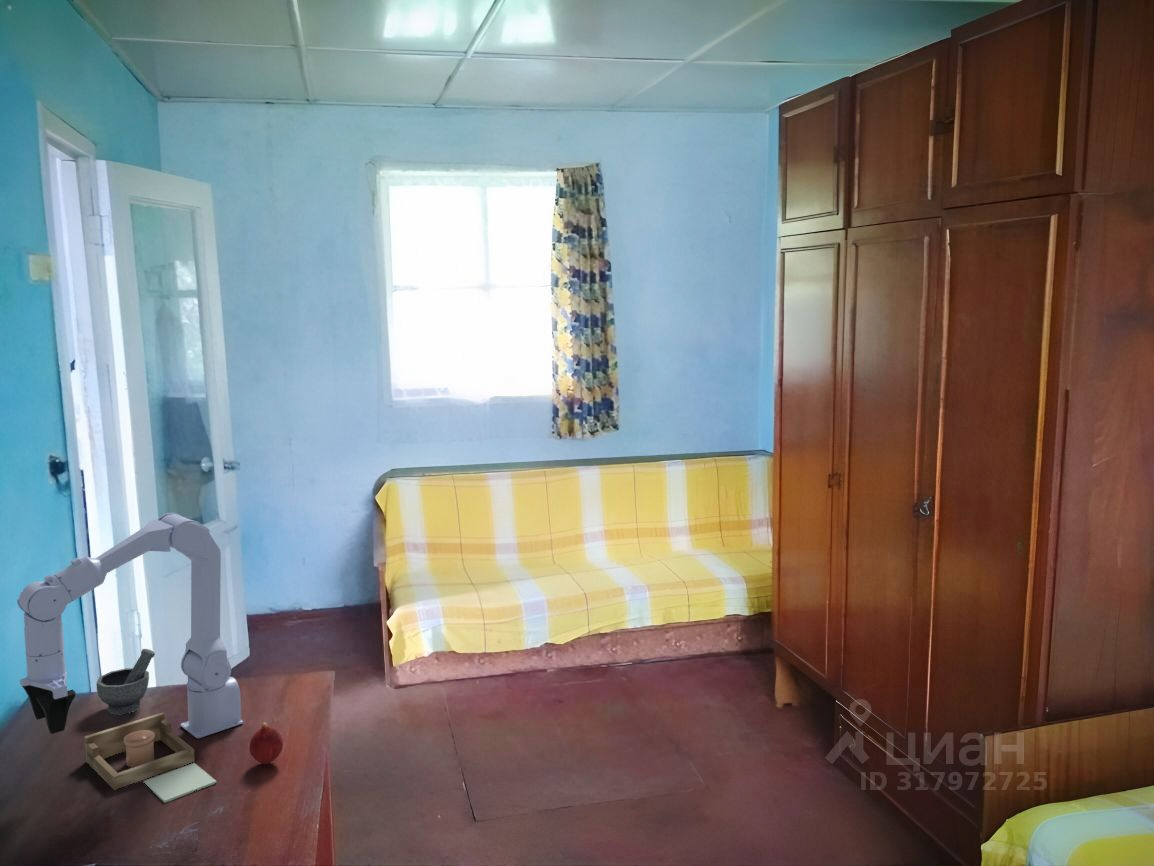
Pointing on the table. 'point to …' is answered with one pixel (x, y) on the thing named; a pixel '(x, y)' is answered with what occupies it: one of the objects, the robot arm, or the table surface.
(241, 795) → the table surface
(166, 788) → the mat
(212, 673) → the robot arm
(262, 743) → the onion
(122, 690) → the mortar and pestle
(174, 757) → the wooden frame
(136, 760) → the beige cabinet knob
